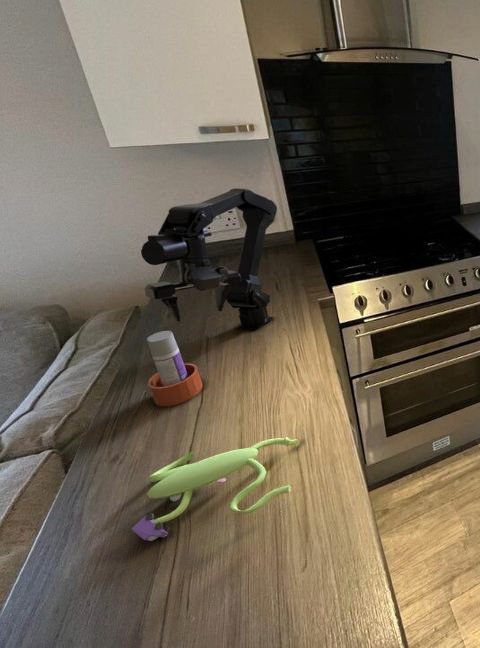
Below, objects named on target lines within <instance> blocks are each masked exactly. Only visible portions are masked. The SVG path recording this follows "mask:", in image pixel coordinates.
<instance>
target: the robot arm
mask: <svg viewBox="0 0 480 648" xmlns="http://www.w3.org/2000/svg"><path fill="white" fill-rule="evenodd" d="M233 209H238V210H239V211H240V212H242V219H243V221H244V224H245V226H246V228H245V233H244V238H243V243H242V247H241V252H240V258H239V264H238V269H237V271H236V270H235V271H234V270H230V269H229V268H228V267H226V266H225V265H223V266H217V267H214V268H213V266H212V264H211V260H210V259H208V253H207V246H206V245H207V244H206V238H207V237H211V236H212V235H213V234H212V233H211V232H210V231H208V230H207V229H205V228H207V227H208V226H209V225H211V224H212V223H213V222H214V219H215V218H217V216H220V215H222V214H224V213H226V212H229V211H231V210H233ZM277 212H278V206H277V204H276V203H275V202H274V200H272V199H270V198H267V197H265V196H263V195H261V194H258V193H255V192H253V191H252V190H251V189H248V188H239V187H237V188H236V187H234V188H232V189H230V190H229V191H226V192H223V193H221V194H219V195H216V196H214V197H211V198H209V199H206V200H204V201H201V202H198V203H190V204H189V203H187V204H182V205H177V206H175V205H174V206H173V207H171V208H169V210H168V213H167V215H166V217H165V219H164V221H163V223H162V225H161V227H160V229H159V231H157V234H150V235H148V236H147V241H145V242H144V243H143V245H142V247H141V249H140V254H141V257H142V259H143V260H144V261H145V262H146V263H147V264H149V265H151V266H159V265H163V264H167V263H171V262H176V265H178V269H179V270H178V271H179V276H178V281H179V282H175V283H172V282H168V281H166V280H165V281H159V282H153V283H148V284H147V285H146V286H145V287H144V293H145V296H146V297H148V298H151V299H153V300H158V301H160V302H161V303H162V304H164V306H165V307H166V308H167V310H168V311H169V313H170V314H171V315H172V317H173V319H174V320H175V321H176V322H177V323H178V322H181V315H180V310H179V306H178V296H177V295H175V294H176V292H178V291H184V290H187V289H194V288H196V290H197V291H200V292H203V291H204V292H205V291H207V290H210V289H214V295H215V301H216V308H217V311H218V312H222V311H223V309H224V305H225V302H226V301H227V302H226V303H228V304H229V305H230V306H231V308H232V309H238V313H239V314H238V318H239V320H240V324H238V327H239V328H243V329H249V330H255V331H256V330H258V329H260V328H261V327H263V326H265V325H266V324H268V323H270V322H271V321H272V320H273V319H274V318H273V316H269V314H268V310H267V307H268V305H269V303H270V302H271V296H270V294H268V293H266V292H264V291H262V288H263V286H262V283H261V281H260V279H259V277H258V275H259V269H260V263H261V259H262V254H263V248H264V243H265V237H266V232H267V229H268V228H269V227H270V226H271V225H272V224H273V223H274V221H275V219H276V215H277Z"/></svg>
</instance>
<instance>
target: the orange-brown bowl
mask: <svg viewBox="0 0 480 648" xmlns="http://www.w3.org/2000/svg"><path fill="white" fill-rule="evenodd" d="M184 366H185V368H186V371H187V374H188V378H186V379H185V380H183V381H181V382H179V383H176V384H173V385H170V386H165V387H164V386H163V383H162V381H161V378H160V375H159V373H158V372H157V373H155V374H154V375H152V376H150V378H149V380H148V381H147V387H148V390H149V392H150V395H151V398H152V400H153V402H154V404H155V405H157V406H160V407H171V406H175V405H179V404H182V403H184V402H187V401H189V400H190V399H192V398H194V397H195V396H197V395H198V394H200V392H201V391H202V389H203V387H204V383H203V380H202V376H201V373H200V370H199V368H198V366H197V365H196V364H193V363H184Z"/></svg>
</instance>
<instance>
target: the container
mask: <svg viewBox="0 0 480 648" xmlns="http://www.w3.org/2000/svg"><path fill="white" fill-rule="evenodd" d="M146 342H147V344H148V347H149V348H148V349H149V350H150V354H151V357H152V360H153V362H154V365H155V367H156V370H157V373H159V375H160V378H161V381H162V383H163V386H164V387H165V386H170V385H173V384H176V383H179V382H181V381H183V380H185V379H186V378H188V374H187V371H186V368H185V366H184V364H185V363H184V360H183V357H182V354H181V351H180V349H179V346H178V344H177V341H176V339H175V336H174V334H173V332H172V331H171V330H162V331H158V332H155V333H153V334H151V335H149V336H148V337H147V338H146Z"/></svg>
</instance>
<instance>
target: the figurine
mask: <svg viewBox="0 0 480 648" xmlns="http://www.w3.org/2000/svg"><path fill="white" fill-rule="evenodd" d="M300 443H301V440H300V439H298V438H295V439H291V438H290V437H282V438H281V437H276V438H271V439H265V440H263V441H259V442H257V443H254V444H253V445H252V446H250V447H246V448H245V447H244V448H239V449H233V450H230V451H225V452H223V453H219V454H216V455H213V456H210V457H207V458H204V459H202V460H199V461H196V462H194V463H188V464H185V463H187V462H188V461H190V460H192V459H193V458H194V457H195V453H194V452H193V450H191V451H190V452H188V453H187V454H185V455H184V456H182V457H180V458H179V459H177V460H175V461H172V463H169V464H168V465H166V466H164V467H162V468H160V469H159V470H156V471H155V472H153V473H152V474H151V475H150V476H149V477H148V479H147V480H148V482H149V483H155V482H157V483H155V484H154V485H152V486H151V487H150V489H149V490H148V492H147V493H146V495H147V498H149V499H157V500H159V499H164V498H165V499H166V498H169V500H170V501H172V502H173V503H176V502H177V501H179V500H180V499H181V498H182V499H181V501H180V503H179V505H178V506H177V507H176V509H174V510H173V511H171V512H170V513H168V514H165V515H163V516H161V517H158V516H155V514H154V513H151V512H150V513H148V514H146V515H144V516H143V517H142V518H141V519H140V520H139V521H138V522H137V523H136V524H135V525H134V526H133V527H131V531H133V532H134V533H135V534H137V536H139V537H140V538H141V539H143V540H144V541H148V542H153V541H154V540H156V539H158V538H163V539H164V538H166V537H167V536H168V535H169V534H170V533H169V532H170V526H166V525H165V526H164V523H166V522H168V521H171V520H173V519H176V518H177V517H178V516H180V515H181V514H182V513H184V512H185V510H186V509H187V508H188V506H189V504H190V501H191V499H192V496H193V493H194V491H195V490H198V489H200V488H203V487H206V486H209V485H211V484H213V483H215V482H216V483H224V482H226V481H227V480H228V479H227V478H226V477H228V476H230V475H232V474H234V473H235V472H237V471H239V470H240V469H242V468H244V467H245V466H249V467H250V468H252V469H253V470H254V471H255V472H256V473H257V474H258V475H257V478H256V479H255V480H254V481H253V482H252V483H250V484H249V485H247V486H246V487H245V488H243V489H241V491H239V492H238V493H237V494H236V495H235V496H234V497H233V498H232V499H231V501H230V502H229V504H228V506H229V510H230V511H231V512H233V513H235V514H252V513H254V512H257V511H258V510H259V509H262V508H263V507H264V506H265V505H266V504H267V503H268V502H270V501H271V500H273V499H274V498H276V497H278V496H282V495H284V494H288V493H290V492H291V489H292V488H291V484H287V485H284V486H279V487H277V488H275V489H273V490H270V491H269V492H268V493H266V494H265V495H263V496H262V497H261V498H259V500H258V501H257V502H256V503H254V504H253V505H252V506H250V507H249V508H247V509H245V510H240V509H238V508H239V507H238V505H239V504H240V502H241V501H242V500H243V499H244V498H245V497H246V496H248V495H249V494H250V493H251V492H253V491H254V490H256V489H257V488H258V487H259V486H261V484H262V483H263V482H264V480H265V478H266V474H267V470H266V467H264V466H263V464H261V463H260V462H259V461H258V460H256V459H255V458H257V456H258V454H259V451H258V450H260V449H262V448H266V447H268V446H269V447H270V446H274V445H279V446H280V445H281V446H282V445H283V446H286V447H292V446H294V447H296V448H297V447H298V446H299V445H300ZM184 464H185V465H184ZM182 495H183V497H182Z"/></svg>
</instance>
